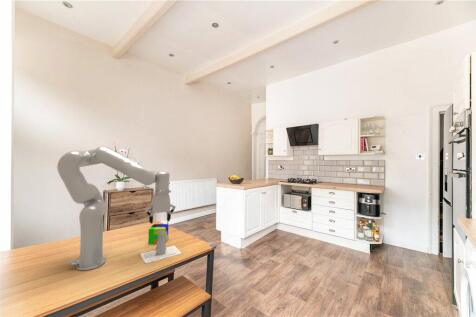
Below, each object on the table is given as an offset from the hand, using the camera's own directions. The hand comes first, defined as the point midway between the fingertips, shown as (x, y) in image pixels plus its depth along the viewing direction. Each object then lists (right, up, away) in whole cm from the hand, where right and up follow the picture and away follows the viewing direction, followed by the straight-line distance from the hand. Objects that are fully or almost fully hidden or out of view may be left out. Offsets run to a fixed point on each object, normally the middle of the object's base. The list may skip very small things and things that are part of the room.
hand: (159, 221), depth 117 cm
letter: (+1, -19, 0) cm, 19 cm away
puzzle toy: (-8, -19, +18) cm, 27 cm away
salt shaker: (0, -19, 0) cm, 19 cm away
